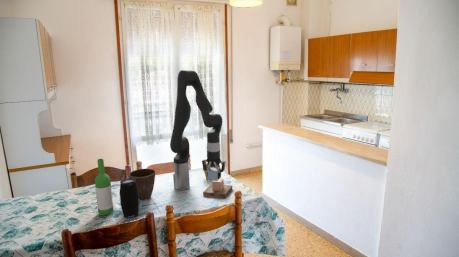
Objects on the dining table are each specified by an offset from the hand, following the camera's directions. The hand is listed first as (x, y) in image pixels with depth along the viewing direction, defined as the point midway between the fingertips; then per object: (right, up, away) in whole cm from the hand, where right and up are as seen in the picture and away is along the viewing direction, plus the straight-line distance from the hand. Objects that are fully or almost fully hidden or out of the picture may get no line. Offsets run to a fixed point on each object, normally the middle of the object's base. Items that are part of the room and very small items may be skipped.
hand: (213, 177), depth 183 cm
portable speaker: (-43, -18, -14) cm, 49 cm away
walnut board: (+2, -11, +14) cm, 18 cm away
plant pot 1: (-42, -14, +8) cm, 45 cm away
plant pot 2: (-4, -7, +38) cm, 39 cm away
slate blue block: (0, -1, 0) cm, 1 cm away
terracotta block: (+2, -9, +13) cm, 16 cm away
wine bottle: (-58, -18, -10) cm, 61 cm away
